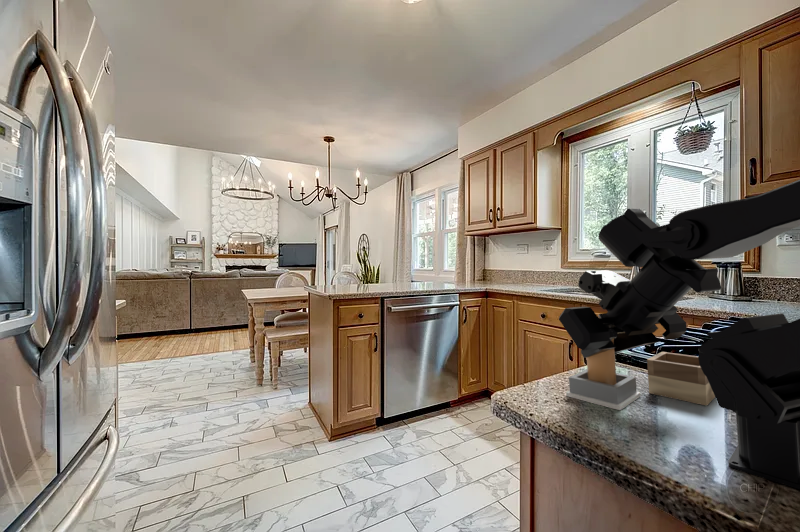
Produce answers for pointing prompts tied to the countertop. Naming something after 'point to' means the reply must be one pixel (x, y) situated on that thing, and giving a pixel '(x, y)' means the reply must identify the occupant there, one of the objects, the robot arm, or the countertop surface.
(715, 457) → the countertop surface
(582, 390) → the grey bin on base
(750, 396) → the robot arm
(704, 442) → the countertop surface
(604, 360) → the bottle
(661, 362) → the open tan box
